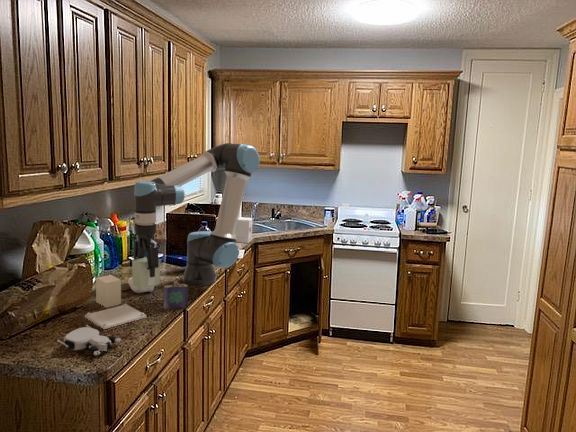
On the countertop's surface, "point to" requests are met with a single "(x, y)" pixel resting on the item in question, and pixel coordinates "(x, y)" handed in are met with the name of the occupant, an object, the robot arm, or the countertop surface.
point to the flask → (175, 296)
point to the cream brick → (108, 290)
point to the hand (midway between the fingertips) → (146, 282)
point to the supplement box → (244, 230)
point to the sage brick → (143, 273)
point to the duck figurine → (138, 288)
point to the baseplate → (115, 316)
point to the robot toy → (88, 340)
